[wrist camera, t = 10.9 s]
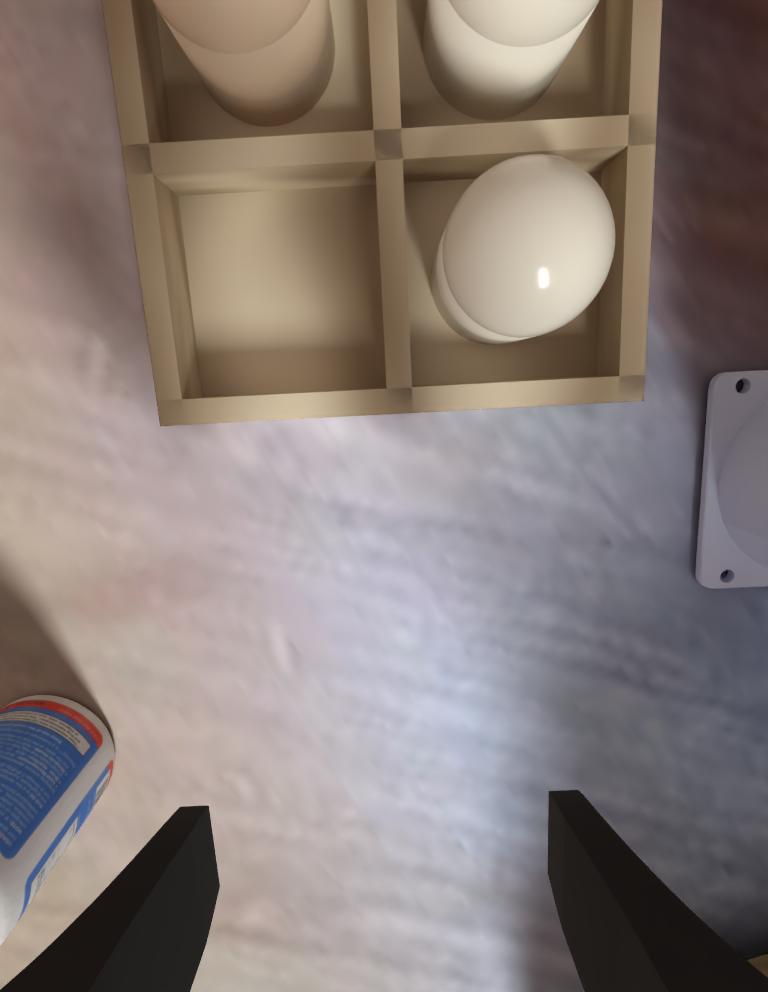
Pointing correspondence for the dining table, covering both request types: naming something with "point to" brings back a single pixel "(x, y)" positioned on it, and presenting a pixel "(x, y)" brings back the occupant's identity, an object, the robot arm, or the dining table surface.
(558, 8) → the cream egg
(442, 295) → the cream egg
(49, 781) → the pill bottle
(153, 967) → the robot arm
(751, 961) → the ceramic pitcher
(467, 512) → the dining table surface
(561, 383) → the caddy
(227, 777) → the dining table surface
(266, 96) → the brown egg
